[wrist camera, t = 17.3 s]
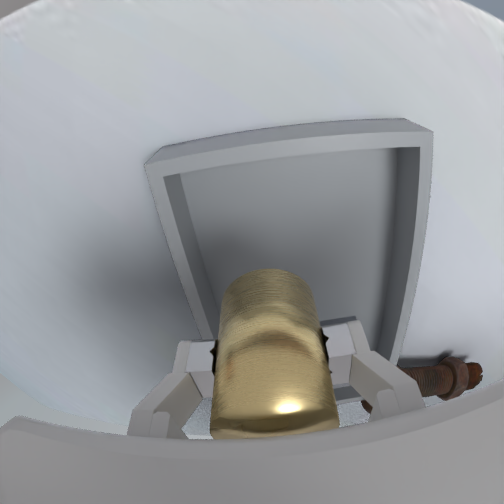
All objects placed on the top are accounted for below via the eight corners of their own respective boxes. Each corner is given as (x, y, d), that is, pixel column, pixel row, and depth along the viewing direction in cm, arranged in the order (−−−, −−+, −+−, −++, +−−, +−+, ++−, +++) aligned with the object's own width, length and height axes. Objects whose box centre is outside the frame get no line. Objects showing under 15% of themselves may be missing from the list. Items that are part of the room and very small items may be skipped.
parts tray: (404, 118, 16) (433, 131, 13) (378, 366, 29) (386, 395, 26) (162, 146, 18) (143, 164, 14) (235, 385, 30) (234, 415, 27)
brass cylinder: (312, 262, 12) (344, 393, 7) (315, 331, 15) (335, 446, 9) (212, 275, 13) (193, 407, 8) (231, 341, 15) (226, 456, 10)
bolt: (459, 355, 31) (358, 359, 29) (488, 346, 27) (384, 350, 25) (461, 401, 28) (357, 416, 26) (491, 396, 24) (385, 416, 22)
